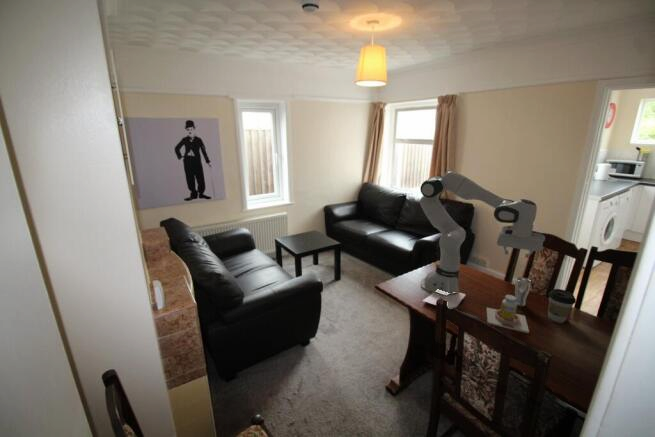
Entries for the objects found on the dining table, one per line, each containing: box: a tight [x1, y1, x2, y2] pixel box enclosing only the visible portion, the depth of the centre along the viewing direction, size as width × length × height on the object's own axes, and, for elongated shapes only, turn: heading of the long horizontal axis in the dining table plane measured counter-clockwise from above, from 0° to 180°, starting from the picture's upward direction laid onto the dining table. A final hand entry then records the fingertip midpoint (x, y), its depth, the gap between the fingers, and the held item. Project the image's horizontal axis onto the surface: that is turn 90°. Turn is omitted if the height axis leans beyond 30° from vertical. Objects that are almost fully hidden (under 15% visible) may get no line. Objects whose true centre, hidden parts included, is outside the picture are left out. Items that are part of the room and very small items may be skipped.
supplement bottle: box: [499, 294, 518, 321], centre depth 154 cm, size 7×7×13 cm
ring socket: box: [486, 307, 530, 334], centre depth 155 cm, size 18×14×3 cm
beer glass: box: [514, 276, 532, 307], centre depth 168 cm, size 7×7×15 cm
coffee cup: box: [547, 288, 577, 324], centre depth 155 cm, size 11×11×15 cm
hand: (516, 255), depth 157 cm, fingers open, 8 cm apart
